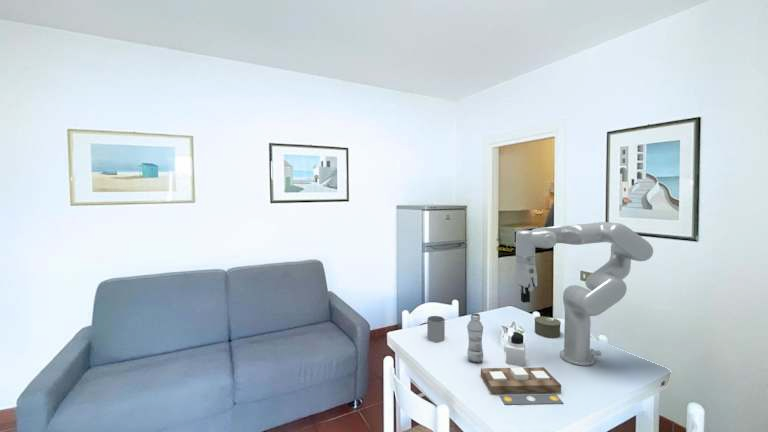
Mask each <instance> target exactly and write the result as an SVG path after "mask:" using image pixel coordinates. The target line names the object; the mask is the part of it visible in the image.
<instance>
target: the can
mask: <svg viewBox="0 0 768 432" xmlns="http://www.w3.org/2000/svg"><path fill="white" fill-rule="evenodd" d="M561 323H562V322H561V321H560V320H559V319H556V318H554V317H551V316H536V317H534V334H536V335H538V336H540V337H542V338H546V339H558V338H559V339H560V336H561Z"/></svg>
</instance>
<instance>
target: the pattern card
mask: <svg viewBox="0 0 768 432" xmlns="http://www.w3.org/2000/svg"><path fill="white" fill-rule="evenodd" d="M498 395H499V399H500V400H501V401H502V402H503V405H504V406H515V405H517V406H519V405H520V406H521V405H527V406H528V405H563V404H564V401H562V400H561V398H560V397H559V396H558V394H557V393H549V394H498Z"/></svg>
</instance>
